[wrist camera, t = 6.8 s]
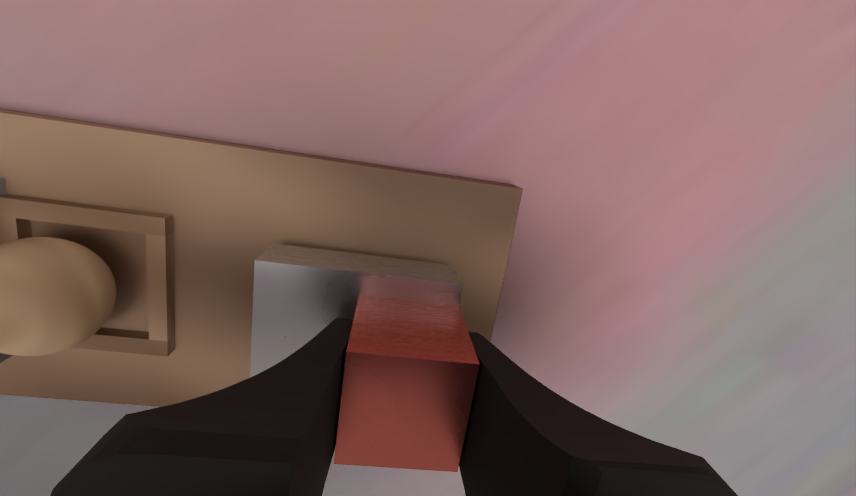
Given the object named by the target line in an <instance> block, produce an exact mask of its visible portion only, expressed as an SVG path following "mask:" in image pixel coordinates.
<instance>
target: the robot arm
mask: <svg viewBox="0 0 856 496" xmlns="http://www.w3.org/2000/svg"><path fill="white" fill-rule="evenodd" d="M352 324H353V319H344V318H335V319H334V320H333V321H331V322H330V323H329V324H328V325H327V326H326V327H325V328H324V329H323V330H322V331H320V332H319V333H318V334H317V335H316V336H315V337H313V338H312V339H311V340H310V341H309V342H307V343H306V344H305V345H304V346H302V347H301V348H300V349H298V350H297V351H295V352H294V353H293V354H291V355H290V356H288V357H287V358H285V359H284V360H282V361H281V362H279V363H277V364H276V365H274V366H272V367H270V368H268V369H266V370H265V371H263V372H261V373H259V374H257V375H255V376H252V377H250V378H248V379H245V380H243V381H241V382H238V383H236V384H234V385H231V386H229V387H227V388H224V389H221V390H218V391H216V392H213V393H210V394H207V395H204V396H200V397H197V398H194V399H191V400H187V401H184V402H180V403H176V404H172V405H168V406H163V407H159V408H154V409H150V410H146V411H141V412H137V413H131V414H126V415H125V416H124V417H123V418H122V419H121V420H120V421H119V422H118V423H117V424H115V425H114V426H113V427H112V428H111V429H110V430H109V431H108V432H107V433H106V434H105V435H104V436H103V437H102V438H101V439H100V440H99V441H98V442H97V443H96V444H95V445H94V446H93V447H92V449H91V450H90V451H89V452H88V453H87V454H86V455H85V456H84V457H83V458H82V459H81V460H80V461H79V462H78V463H77V464H76V465H75V466H74V468H73V469H72V470H71V471H70V472H69V473H68V474H67V475H66V476H65V477H64V478H63V479H62V480H61V481H60V482H59V483H58V484H57V485H56V486H55V488H54V489H53V491H52V493H51V495H50V496H322V493H323V488H324V484H325V481H326V477H327V474H328V470H329V467H330V463H331V460H332V457H333V453H334V450H335V446H336V440H337V430H338V421H339V412H340V403H341V394H342V385H343V376H344V367H345V358H346V350H347V346H348V342H349V337H350V333H351V329H352ZM468 333H469V336H470V338H471V341H472V344H473V347H474V350H475V353H476V355H477V358H478V361H479V364H480V366H479V371H478V375H477V380H476V385H475V390H474V395H473V399H472V404H471V409H470V414H469V418H468V423H467V428H466V433H465V438H464V442H463V447H462V452H461V457H460V462H459V467H460V471H461V476H462V480H463V484H464V489H465V494H466V496H738V495H737V494H736V493H735V492H734V491H733V490H732V489H731V488H730V487H729V486H728V484H727V483H726V482H725V481H724V480H723V479H722V478H721V477H720V476H719V475H718V474H717V472H716V471H715V470H714V469H713V468H712V467H711V466H710V465H709V464H708V463H707V461H706V460H705V459H704V458H702V457H700V456H697V455H694V454H691V453H688V452H685V451H682V450H679V449H676V448H673V447H670V446H667V445H664V444H661V443H658V442H655V441H652V440H650V439H647V438H645V437H642V436H640V435H637V434H635V433H633V432H630V431H628V430H625V429H623V428H621V427H618V426H616V425H614V424H612V423H610V422H607V421H605V420H603V419H601V418H599V417H597V416H595V415H593V414H591V413H589V412H587V411H585V410H584V409H582V408H580V407H578V406H576V405H574V404H573V403H571V402H569V401H568V400H566V399H564V398H563V397H561V396H560V395H558V394H556V393H555V392H553V391H551V390H550V389H548V388H547V387H546V386H544V385H543V384H541V383H540V382H538V381H537V380H536V379H534V378H533V377H532V376H530V375H529V374H528V373H526V372H525V371H524V370H523V369H521V368H520V367H519V366H517V365H516V364H515V363H514V362H513V361H511V360H510V359H509V358H508V357H507V356H506V355H504V354H503V353H502V352H501V351H500V350H499V349H497V348H496V347H495V346H494V345H493V344H492V343H490V342H489V341H488V340H487V339H486V338H485V337H483V336H482V335H481V334H479V333H477V332H468Z"/></svg>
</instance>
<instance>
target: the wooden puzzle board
mask: <svg viewBox="0 0 856 496" xmlns="http://www.w3.org/2000/svg"><path fill="white" fill-rule="evenodd" d="M522 190H523V189H521V188H519V187H517V186H515V185H511V184H505V183H498V182H491V181H484V180H478V179H471V178H464V177H457V176H450V175H444V174H437V173H430V172H423V171H417V170H410V169H403V168H396V167H389V166H383V165H376V164H369V163H362V162H356V161H349V160H342V159H335V158H328V157H322V156H315V155H308V154H301V153H295V152H288V151H281V150H274V149H267V148H261V147H254V146H247V145H240V144H234V143H227V142H220V141H213V140H206V139H200V138H193V137H186V136H179V135H173V134H166V133H159V132H152V131H145V130H139V129H132V128H125V127H118V126H112V125H105V124H98V123H91V122H84V121H78V120H71V119H64V118H57V117H51V116H44V115H37V114H30V113H23V112H17V111H10V110H3V109H0V245H1V244H3V243H6V242H10V241H13V240H17V239H23V238H30V237H51V238H60V239H64V240H68V241H72V242H75V243H77V244H80V245H82V246H84V247H86V248H88V249H90V250H91V251H93V252H94V253H96V254H97V255H98V256H99V257H101V258H102V259H103V260H104V261H105V263H106V264H107V265H108V267H109V268H110V270H111V272H112V274H113V276H114V279H115V282H116V289H117V290H116V302H115V305H114V308H113V311H112V313H111V315H110V316H109V318H108V319H107V321H106V322H105V324H104V325H103V326H102V327H101V328H100V329H99V330H98V331H97V332H96V333H95V334H93V335H92V336H91V337H89V338H88V339H87V340H85V341H83V342H82V343H80V344H78V345H76V346H74V347H71V348H69V349H67V350H63V351H60V352H57V353H53V354H48V355H41V356H14V355H8V354H4V353H0V394H4V395H17V396H30V397H43V398H56V399H69V400H82V401H95V402H108V403H121V404H134V405H146V406H159V407H163V406H168V405H172V404H176V403H180V402H184V401H187V400H191V399H194V398H197V397H200V396H204V395H207V394H210V393H213V392H216V391H218V390H221V389H224V388H227V387H229V386H231V385H234V384H236V383H238V382H241V381H243V380H245V379H248V378H250V362H251V337H252V312H253V288H254V263H255V259H257V258H258V257H259V256H260V255H261V254H262V253H263V252H264V251H265V250H266V249H268V248H269V247H270V246H271V245H272V244H273V243H275V244H283V245H291V246H299V247H307V248H316V249H324V250H332V251H340V252H348V253H356V254H364V255H373V256H381V257H389V258H397V259H405V260H413V261H422V262H430V263H438V264H446V265H454V266H455V267H456V269H457V272H458V274H459V276H460V279H461V281H462V283H463V288H462V293H461V299H460V304H459V307H460V310H461V313H462V316H463V319H464V322H465V324H466V327H467V330H468V332H477V333H479V334H481V335H482V336H483V337H485V338H486V339H487V340H488V341H489V342H490V341H491V336H492V331H493V327H494V322H495V317H496V313H497V308H498V303H499V298H500V294H501V289H502V284H503V280H504V275H505V270H506V266H507V261H508V256H509V251H510V247H511V242H512V237H513V233H514V228H515V223H516V219H517V214H518V209H519V205H520V200H521V195H522Z"/></svg>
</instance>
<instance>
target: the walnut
mask: <svg viewBox="0 0 856 496" xmlns="http://www.w3.org/2000/svg"><path fill="white" fill-rule="evenodd" d="M116 290H117V289H116V282H115V279H114V276H113V274H112V272H111V270H110V268H109V267H108V265H107V264H106V263H105V261H104V260H103V259H102V258H101V257H99V256H98V255H97V254H96V253H94V252H93V251H91V250H90V249H88V248H86V247H84V246H82V245H80V244H77V243H75V242H72V241H68V240H64V239H60V238H51V237H30V238H23V239H17V240H13V241H10V242H6V243H3V244H1V245H0V353H4V354H8V355H14V356H41V355H48V354H53V353H57V352H60V351H63V350H67V349H69V348H71V347H74V346H76V345H78V344H80V343H82V342H83V341H85V340H87V339H88V338H89V337H91V336H92V335H93V334H95V333H96V332H97V331H98V330H99V329H100V328H101V327H102V326H103V325H104V324H105V322H106V321H107V319H108V318H109V316H110V315H111V313H112V311H113V308H114V305H115V302H116Z"/></svg>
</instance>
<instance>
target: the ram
mask: <svg viewBox="0 0 856 496" xmlns="http://www.w3.org/2000/svg"><path fill="white" fill-rule="evenodd" d="M462 288H463V283H462V281H461V279H460V276H459V274H458V272H457V269H456V267H455V266H454V265H446V264H438V263H430V262H422V261H413V260H405V259H397V258H389V257H381V256H373V255H364V254H356V253H348V252H340V251H332V250H324V249H316V248H307V247H299V246H291V245H283V244H275V243H273V244H272V245H271V246H270V247H269V248H268V249H266V250H265V251H264V252H263V253H262V254H261V255H260V256H259V257H258V258H257V259H255V263H254V288H253V312H252V337H251V362H250V377H252V376H255V375H257V374H259V373H261V372H263V371H265V370H266V369H268V368H270V367H272V366H274V365H276V364H277V363H279V362H281V361H282V360H284V359H285V358H287V357H288V356H290V355H291V354H293V353H294V352H295V351H297V350H298V349H300V348H301V347H302V346H304V345H305V344H306V343H307V342H309V341H310V340H311V339H312V338H313V337H315V336H316V335H317V334H318V333H319V332H320V331H322V330H323V329H324V328H325V327H326V326H327V325H328V324H329V323H330V322H331V321H333V320H334V319H335V318H344V319H353V324H352V329H351V333H350V337H349V342H348V346H347V350H346V358H345V367H344V376H343V385H342V394H341V403H340V412H339V421H338V430H337V440H336V449H335V458H334V464H345V465H361V466H376V467H391V468H407V469H422V470H437V471H452V472H457V471H458V466H459V462H460V457H461V452H462V447H463V442H464V438H465V433H466V428H467V423H468V418H469V414H470V409H471V404H472V399H473V395H474V390H475V385H476V380H477V375H478V371H479V366H480V364H479V361H478V358H477V355H476V353H475V350H474V347H473V344H472V341H471V338H470V336H469V333H468V330H467V327H466V324H465V322H464V319H463V316H462V313H461V310H460V307H459V304H460V299H461V293H462Z"/></svg>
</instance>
